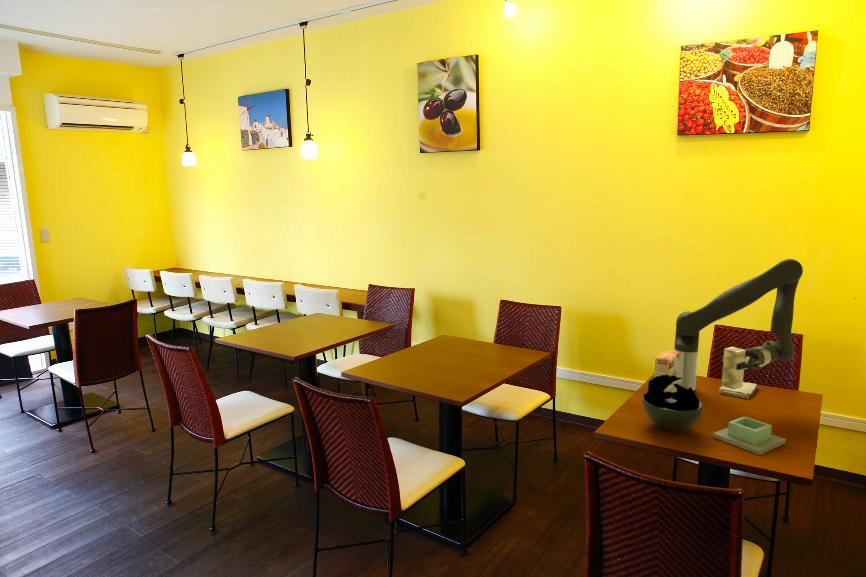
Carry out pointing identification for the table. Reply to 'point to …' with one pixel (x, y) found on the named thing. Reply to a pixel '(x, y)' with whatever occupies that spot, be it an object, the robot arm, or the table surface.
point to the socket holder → (750, 435)
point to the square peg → (733, 368)
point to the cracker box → (667, 366)
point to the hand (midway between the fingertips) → (729, 365)
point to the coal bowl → (671, 404)
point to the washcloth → (740, 390)
